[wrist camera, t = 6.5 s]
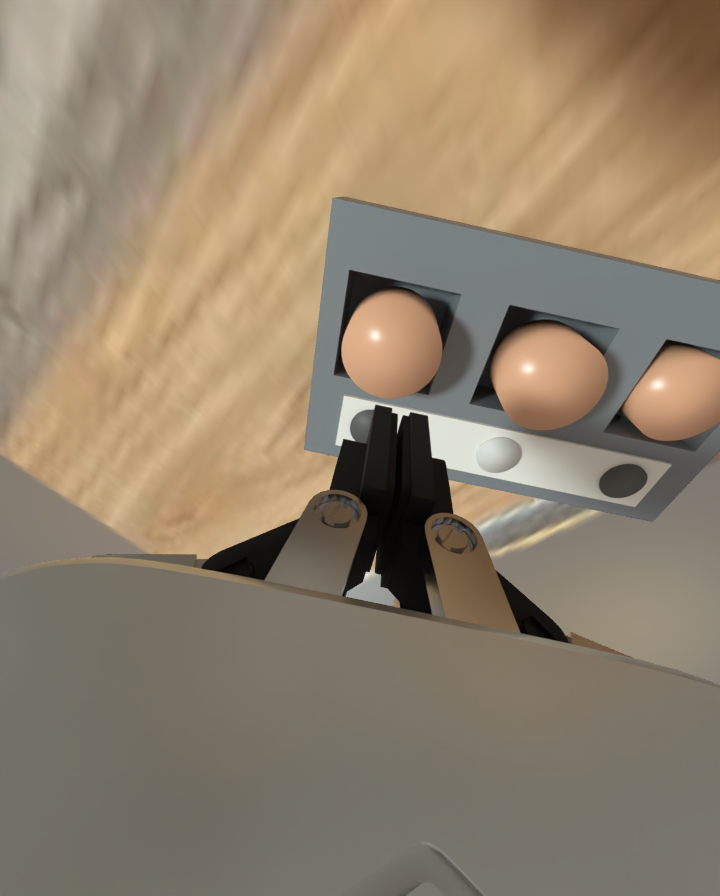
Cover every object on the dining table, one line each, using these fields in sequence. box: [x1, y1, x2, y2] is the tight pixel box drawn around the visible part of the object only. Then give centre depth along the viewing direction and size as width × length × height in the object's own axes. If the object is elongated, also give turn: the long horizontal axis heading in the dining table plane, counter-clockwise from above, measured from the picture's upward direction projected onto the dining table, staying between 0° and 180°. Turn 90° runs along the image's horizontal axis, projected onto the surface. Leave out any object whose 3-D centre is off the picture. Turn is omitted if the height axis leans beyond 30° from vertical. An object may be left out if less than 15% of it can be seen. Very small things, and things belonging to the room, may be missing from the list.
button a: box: [341, 286, 442, 399], centre depth 19 cm, size 5×5×3 cm
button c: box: [619, 340, 720, 441], centre depth 21 cm, size 5×5×3 cm
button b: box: [489, 319, 608, 430], centre depth 19 cm, size 5×5×3 cm
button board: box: [304, 197, 720, 522], centre depth 22 cm, size 14×24×4 cm, turn 80°
